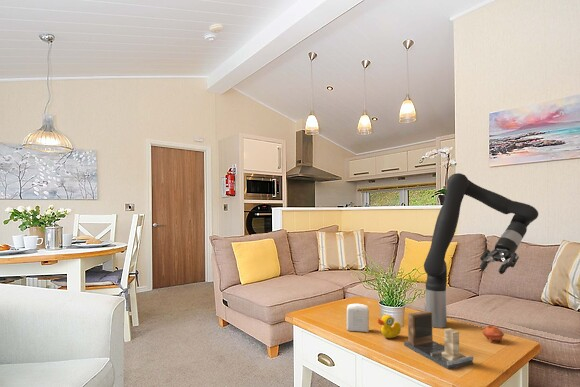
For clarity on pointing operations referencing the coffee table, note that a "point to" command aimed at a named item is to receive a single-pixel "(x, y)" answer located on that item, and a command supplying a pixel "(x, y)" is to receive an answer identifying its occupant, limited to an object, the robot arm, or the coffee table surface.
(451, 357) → the beige pedestal column
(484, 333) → the pot
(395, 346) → the coffee table surface
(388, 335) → the duckling
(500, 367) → the coffee table surface
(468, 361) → the grey stepped base
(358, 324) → the photo printer
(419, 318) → the dark brown block
